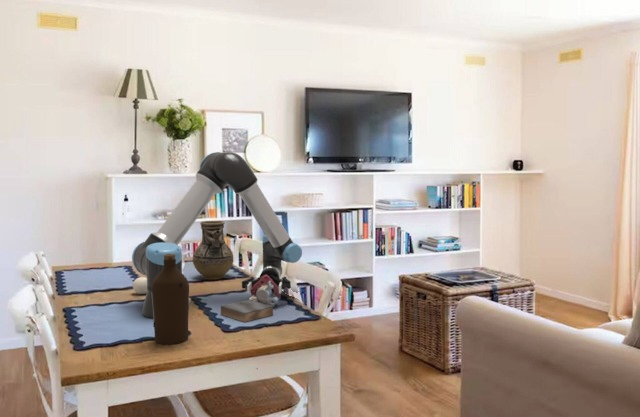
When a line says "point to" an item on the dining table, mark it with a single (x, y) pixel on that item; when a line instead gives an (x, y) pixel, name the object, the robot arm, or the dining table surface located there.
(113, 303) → the dining table surface
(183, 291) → the olive oil
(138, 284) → the baseball
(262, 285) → the brake caliper
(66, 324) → the dining table surface
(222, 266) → the decorative pitcher
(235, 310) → the stand
